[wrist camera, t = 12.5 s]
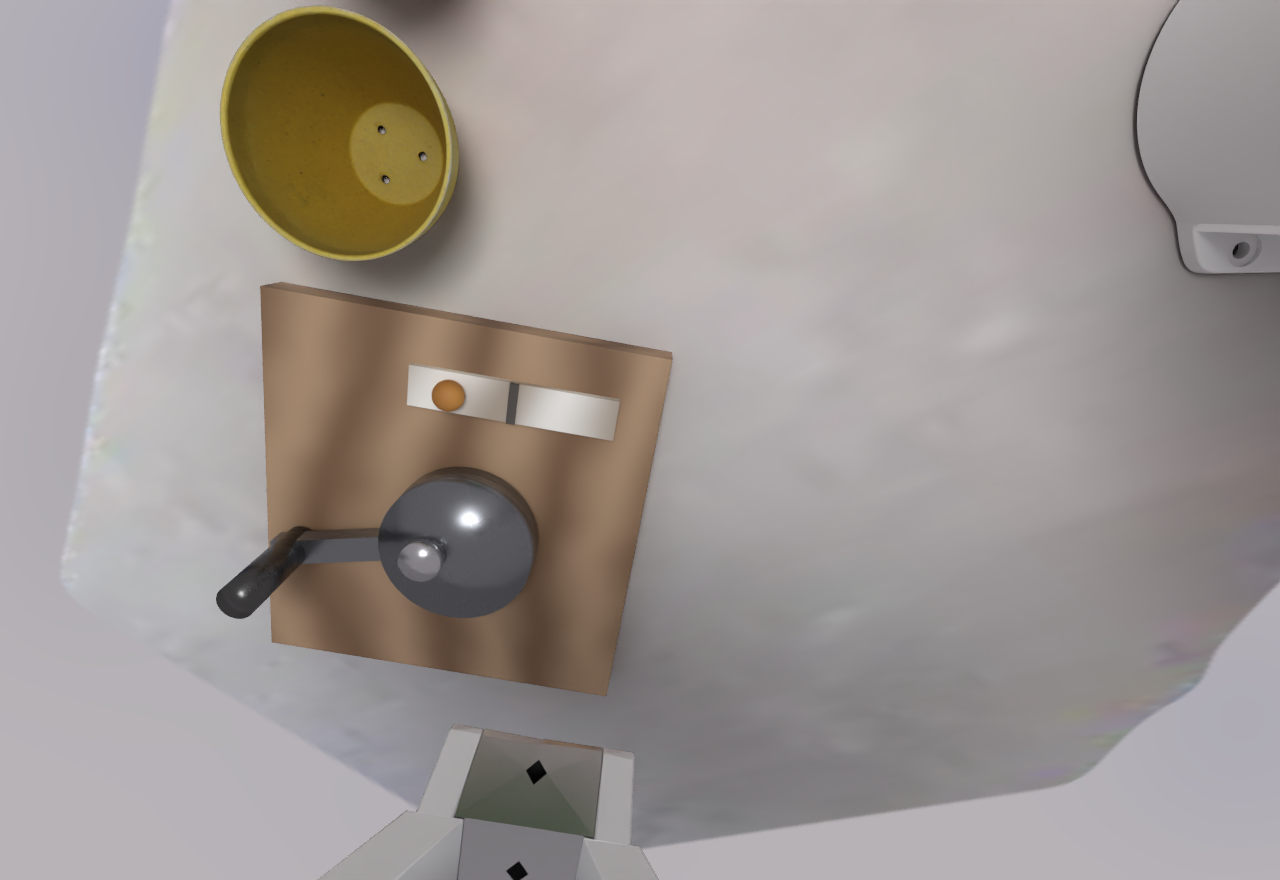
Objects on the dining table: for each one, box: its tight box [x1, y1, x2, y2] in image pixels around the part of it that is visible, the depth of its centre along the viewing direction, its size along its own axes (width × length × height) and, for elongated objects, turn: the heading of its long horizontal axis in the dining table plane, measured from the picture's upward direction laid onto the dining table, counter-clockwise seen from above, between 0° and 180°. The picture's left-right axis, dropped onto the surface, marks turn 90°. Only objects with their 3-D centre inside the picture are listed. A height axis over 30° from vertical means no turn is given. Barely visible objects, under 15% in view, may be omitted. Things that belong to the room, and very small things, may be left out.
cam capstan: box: [216, 467, 539, 619], centre depth 36 cm, size 16×9×7 cm, turn 94°
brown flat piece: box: [260, 282, 672, 696], centre depth 39 cm, size 23×24×4 cm
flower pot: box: [220, 5, 459, 261], centre depth 31 cm, size 10×10×7 cm
